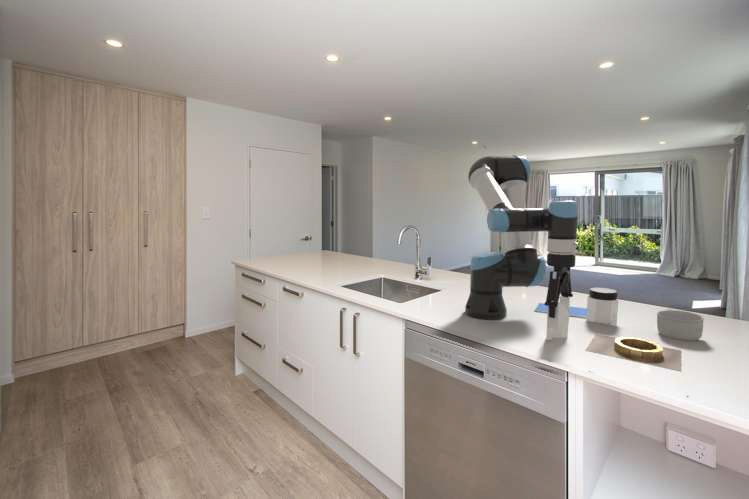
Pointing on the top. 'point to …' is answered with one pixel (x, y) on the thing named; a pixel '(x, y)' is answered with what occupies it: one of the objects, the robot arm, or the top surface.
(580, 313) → the tablet computer
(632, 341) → the collar
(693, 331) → the teacup
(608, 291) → the jar
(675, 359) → the walnut board
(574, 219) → the robot arm
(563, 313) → the white tall rounded piece
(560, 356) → the top surface
